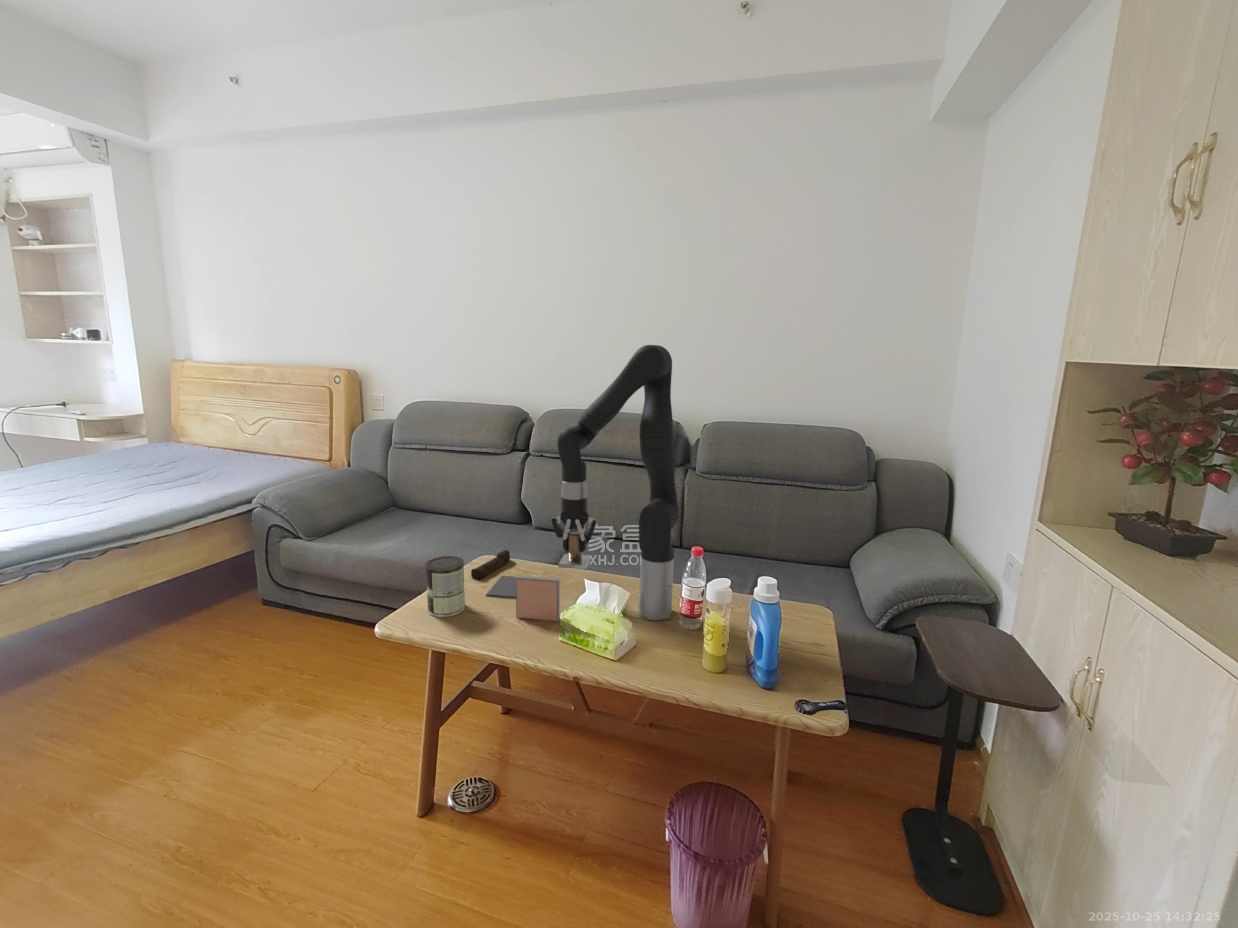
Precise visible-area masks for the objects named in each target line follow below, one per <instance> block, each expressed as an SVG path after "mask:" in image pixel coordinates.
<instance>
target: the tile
mask: <svg viewBox="0 0 1238 928" xmlns="http://www.w3.org/2000/svg"><path fill="white" fill-rule="evenodd" d="M515 577H516V598H515V615H516V616H515V618H517V619H524V620H525V619H526V620H535V621H536V620H537V621H538V620H539V621H548V622H549V621H550V622H559V621H560V620H561V619H560V618H561V612H560V611H561V605H560V604H561V579H560V578H554V577H543V576H541V577H540V576H531V575H530V576H529V575H518V574H517V575H516V576H515Z"/></svg>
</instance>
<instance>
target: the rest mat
mask: <svg viewBox="0 0 1238 928" xmlns="http://www.w3.org/2000/svg"><path fill="white" fill-rule="evenodd" d="M516 577H517V576H510V575H501V576H500V577H499V579H497V581H496V582H495V583H494V584H493V585H492V587H491V588H490V589H489V590H488V592H486V595H485V596H486V597H493V598H506V599H516Z"/></svg>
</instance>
